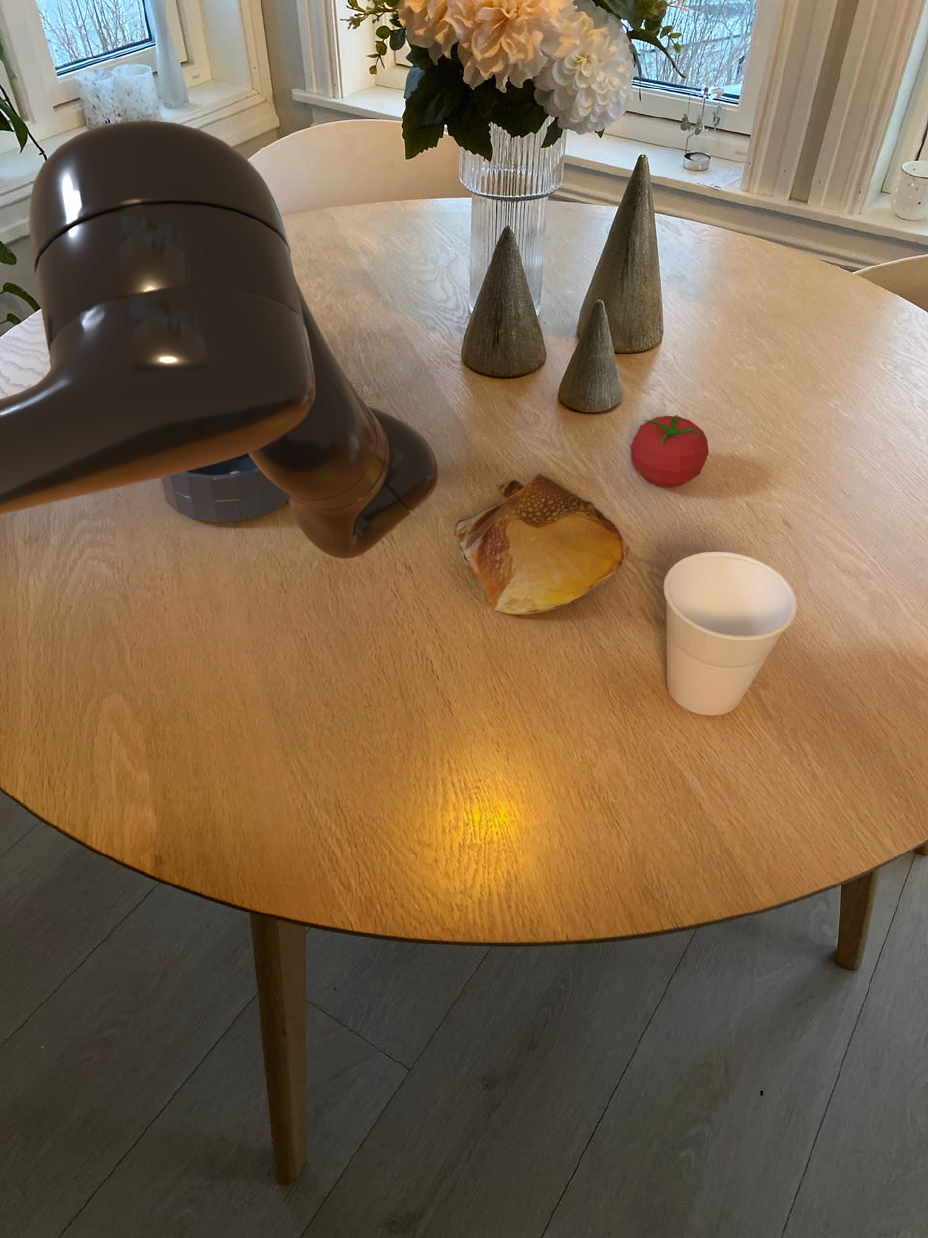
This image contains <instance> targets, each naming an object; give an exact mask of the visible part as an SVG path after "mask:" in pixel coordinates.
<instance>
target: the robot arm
mask: <svg viewBox="0 0 928 1238" xmlns="http://www.w3.org/2000/svg"><path fill="white" fill-rule="evenodd" d="M28 211H29V212H28V215H29V216H28V217H29V218H28V223H29V225H28V226H29V239H30V248H31V255H32V264H33V270H34V275H35V281H36V286H37V291H38V298H39V305H40V311H41V316H42V322H43V327H44V333H45V339H46V345H47V352H48V355H49V365H50V369H49V370H48V371H47V374H45V376H44V377H43V378H42V379H41V380H40V381H38V382H37V383H36V384H34V385H33V386H30V387H29V388H27V389H24V390H22V391H20V392H18V393H14V394H11V395H9V396H6V397H3V398H0V516H4V515H8V514H12V513H15V512H19V511H22V510H27V509H32V508H35V507H40V506H44V505H48V504H53V503H56V502H60V501H65V500H69V499H75V498H78V497H83V496H87V495H91V494H95V493H100V492H104V491H109V490H114V489H118V488H121V487H127V486H130V485H134V484H135V485H136V484H140V483H143V482H148V481H152V480H157V479H159V478H161V477H165V476H170V475H174V474H178V473H182V472H185V471H189V470H193V469H197V468H201V467H205V466H209V465H213V464H217V463H220V462H223V461H227V460H230V459H233V458H236V457H239V456H242V455H245V454H248V455H249V456H250V458H251V459H252V461H253V462H254V463H255V465H256V466H257V467H258V468H259V469H260V471H261V472H262V473H263V474H264V475H265V476H266V477H267V478H268V479H269V480H270V481H271V482H272V483H274V484H275V485H276V486H277V487H279V488H280V489H281V490H283V491H284V492H286V495H287V500H288V501H287V502H288V506H289V508H290V511H291V513H292V516H293V518H294V520H295V522H296V523H297V525H298V527H299V528H300V530H301V531H302V533H303V534H304V536H306V538H307V539H308V540H309V541H310V542H311V543H312V544H313V546H315V547H316V548H317V549H319V550H320V551H321V552H323V553H325V554H326V555H329V556H331V557H333V558H336V559H341V560H342V559H344V560H347V559H354V558H357V557H359V556H362V555H363V554H365V553H367V552H368V551H370V550H371V549H372V548H374V547H375V546H376V545H377V544H378V543H379V542H381V540H382V539H383V538H385V537H386V536H388V534H389V533H391V531H393V530H394V529H395V528H396V527H397V526H399V524H400V523H402V522H403V521H404V520H405V519H406V518H407V517H408V516H409V515H410V514H411V512H414V511H415V510H416V509H418V508H419V507H420V506H421V505H423V503H425V502H426V501H427V499H429V498H430V496H431V495H432V494H433V493H434V490H435V489H436V487H437V483H438V478H439V468H438V467H439V466H438V461H437V458H436V455H435V452H434V450H433V448H432V447H431V445H430V444H429V443H428V441H427V440H426V439H425V437H423V435H421V433H420V432H418V431H417V430H416V429H415V428H414V427H413V426H411V425H410V424H408V423H407V422H405V421H404V420H403V419H400V418H399V417H397V416H394V415H393V414H390V413H388V412H386V411H384V410H382V409H379V408H378V407H377V408H376V407H375V406H374V407H373V406H371V405H368V404H367V403H366V401H365V400H364V399H363V398H362V396H361V394H359V392H358V390H357V389H356V387H355V386H354V385H353V383H352V382H351V380H350V379H349V377H348V375H347V374H346V373H345V371H344V370H343V368H342V366H341V365H340V363H339V361H338V360H337V358H336V356H335V355H334V352H333V351H332V349H331V347H330V346H329V343H328V341H326V338H325V336H324V333H322V331H321V329H320V327H319V325H318V323H317V322H316V319H315V318H314V316H313V314H312V311H311V309H310V307H309V305H308V303H307V301H306V298H305V296H304V294H303V292H302V289H301V287H300V285H299V282H298V280H297V278H296V275H295V270H294V267H293V266H294V265H293V262H292V257H291V248H290V247H291V246H290V242H289V238H288V234H287V230H286V228H285V226H284V225H285V224H284V222H283V218H282V215H281V213H280V211H279V208H278V206H277V204H276V201H275V198H274V196H273V194H272V192H271V190H270V188H269V187H268V185H267V183H266V180H264V178H263V176H262V175H261V173H260V172H259V171H258V170H257V168H255V166H254V164H253V163H251V161H249V160H248V159H247V157H245V156H244V155H243V154H242V153H240V151H238V150H236V148H234V147H232V146H231V145H230V144H228V143H227V142H225V141H224V140H223V139H220V138H218V137H217V136H214V135H212V134H211V133H208V132H206V131H203V130H201V129H199V128H195V127H191V126H188V125H185V124H180V123H177V122H172V121H171V122H170V121H161V120H153V119H152V120H149V119H148V120H146V119H145V120H132V121H131V120H130V121H119V122H114V123H110V124H106V125H100V126H98V127H94V128H91V129H88V130H86V131H83V132H81V133H79V134H77V135H75V136H73V137H72V138H70V139H69V140H67V141H66V142H64V143H62V144H60V145H59V146H58V147H57V148H56V149H55V150H54V152H53V153H52V154H50V155H49V156H48V158H46V160H45V161H44V162H43V163H42V165H41V167H40V169H39V171H38V173H37V175H36V177H35V178H34V182H33V185H32V190H31V196H30V201H29V210H28Z"/></svg>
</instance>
